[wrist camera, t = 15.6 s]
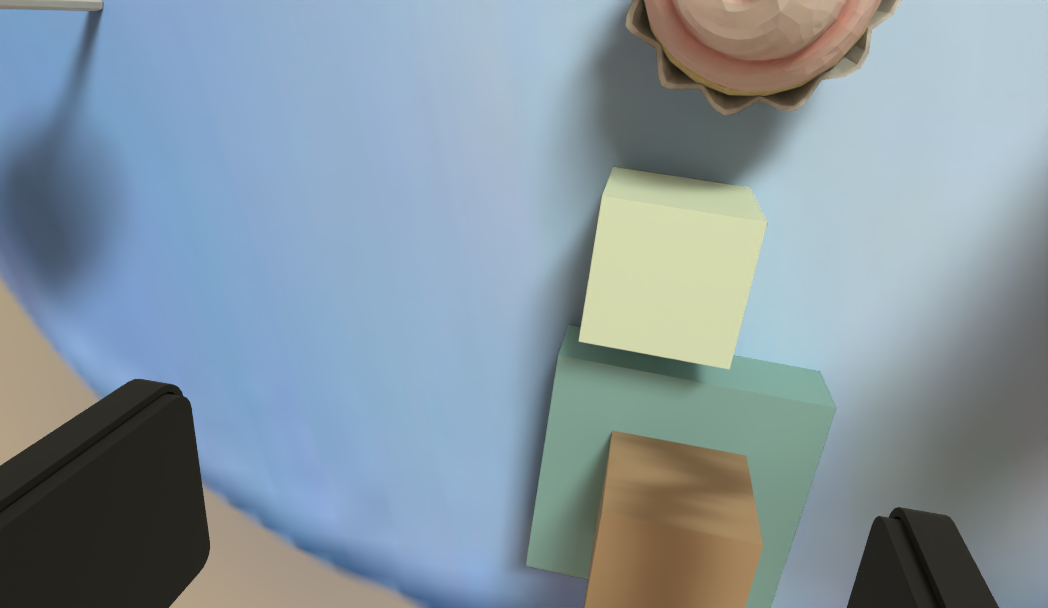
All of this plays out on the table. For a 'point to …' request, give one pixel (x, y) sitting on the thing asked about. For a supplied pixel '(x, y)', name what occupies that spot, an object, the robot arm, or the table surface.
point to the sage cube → (672, 266)
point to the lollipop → (53, 5)
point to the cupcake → (756, 45)
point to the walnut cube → (673, 528)
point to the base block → (678, 416)
